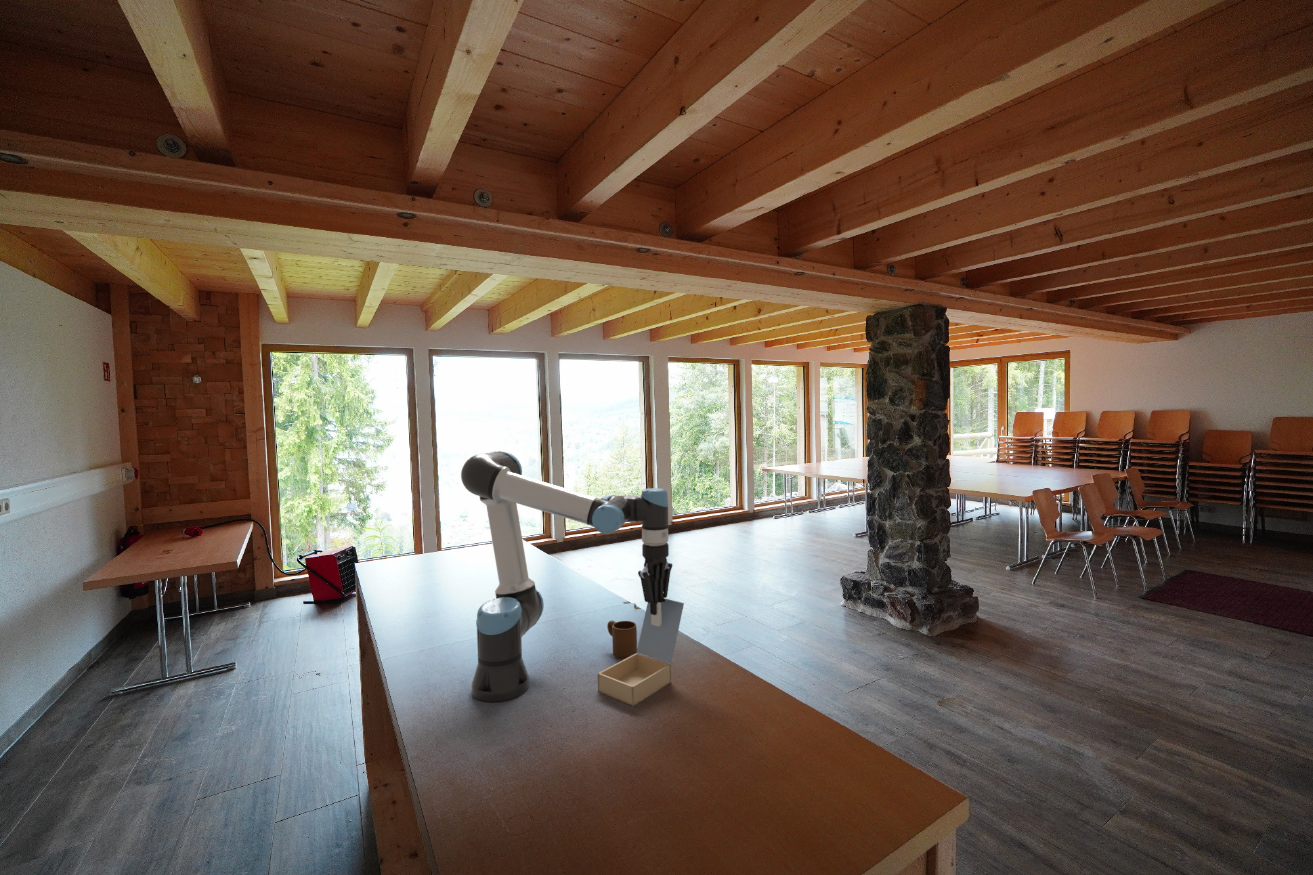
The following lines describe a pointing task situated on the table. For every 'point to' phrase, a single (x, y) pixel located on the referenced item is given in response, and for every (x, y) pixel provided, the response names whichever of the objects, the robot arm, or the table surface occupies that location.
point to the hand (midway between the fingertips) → (656, 624)
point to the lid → (661, 632)
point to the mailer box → (634, 679)
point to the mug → (623, 638)
